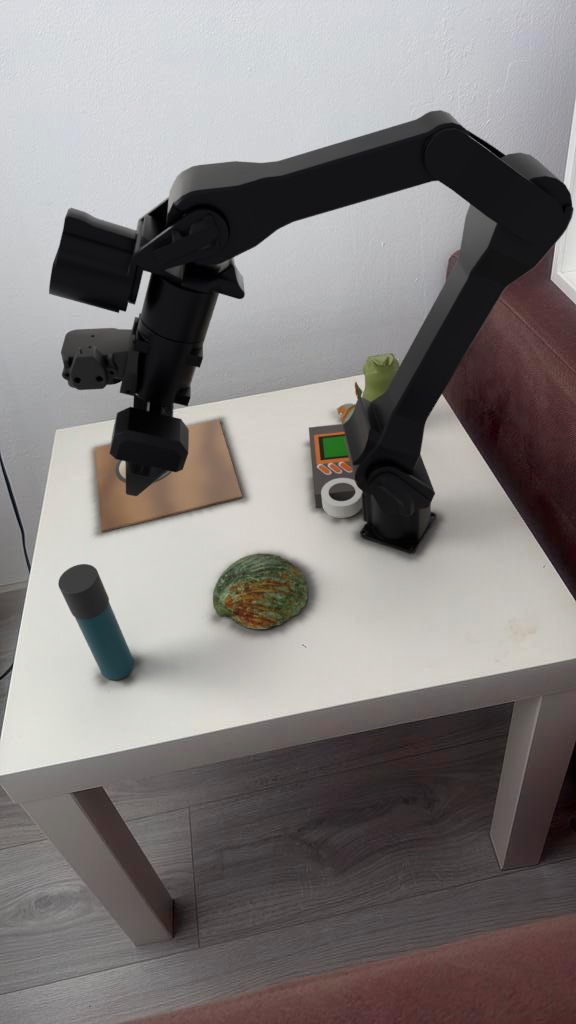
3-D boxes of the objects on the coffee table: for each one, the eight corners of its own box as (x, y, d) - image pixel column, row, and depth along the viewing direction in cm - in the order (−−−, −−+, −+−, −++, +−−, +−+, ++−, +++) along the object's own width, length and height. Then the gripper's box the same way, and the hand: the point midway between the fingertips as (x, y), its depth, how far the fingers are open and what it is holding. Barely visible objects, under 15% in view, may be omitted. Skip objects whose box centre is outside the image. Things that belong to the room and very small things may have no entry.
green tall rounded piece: (366, 438, 94) (363, 370, 87) (359, 415, 98) (355, 348, 91) (409, 432, 94) (409, 363, 87) (401, 408, 98) (400, 341, 91)
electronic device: (315, 507, 82) (308, 423, 92) (317, 525, 84) (310, 441, 94) (376, 501, 81) (361, 417, 92) (376, 519, 83) (362, 435, 94)
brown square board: (219, 420, 101) (218, 418, 100) (242, 497, 88) (241, 494, 88) (95, 449, 99) (94, 446, 99) (101, 532, 86) (100, 529, 86)
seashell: (318, 577, 71) (222, 617, 69) (323, 607, 74) (231, 646, 72) (280, 522, 79) (192, 556, 77) (286, 551, 81) (201, 584, 79)
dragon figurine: (397, 438, 91) (388, 384, 94) (343, 432, 89) (335, 377, 92) (375, 463, 97) (367, 412, 100) (323, 458, 94) (317, 406, 98)
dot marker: (143, 662, 72) (106, 571, 63) (120, 689, 70) (78, 598, 61) (117, 649, 73) (77, 559, 64) (94, 675, 71) (49, 585, 62)
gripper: (89, 252, 67) (63, 392, 77) (61, 355, 53) (33, 510, 63) (207, 287, 71) (168, 417, 80) (209, 393, 57) (161, 535, 66)
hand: (134, 464), depth 72 cm, fingers open, 9 cm apart
